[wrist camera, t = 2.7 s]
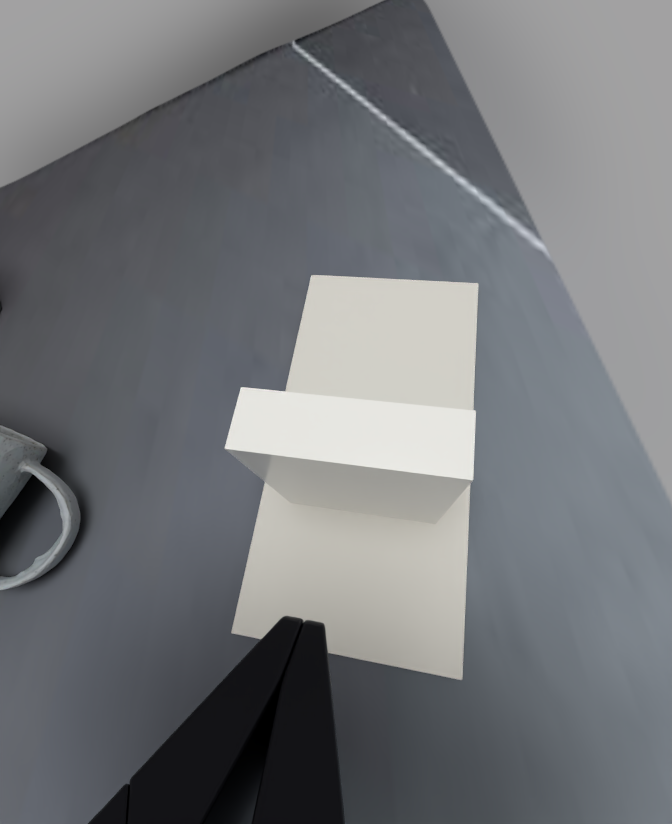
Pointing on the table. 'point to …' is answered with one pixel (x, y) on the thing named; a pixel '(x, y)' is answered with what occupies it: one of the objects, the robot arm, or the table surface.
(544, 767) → the table surface
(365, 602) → the mat
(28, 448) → the ceramic mug
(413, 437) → the tile
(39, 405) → the table surface
